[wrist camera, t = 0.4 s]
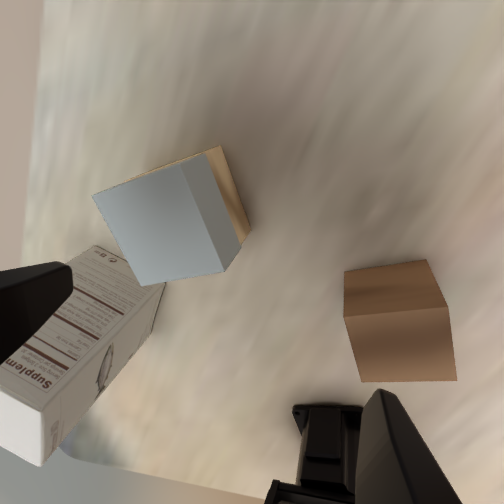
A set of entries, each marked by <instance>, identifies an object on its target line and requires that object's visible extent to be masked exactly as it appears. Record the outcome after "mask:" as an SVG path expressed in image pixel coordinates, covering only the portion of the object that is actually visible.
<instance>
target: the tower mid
mask: <svg viewBox="0 0 504 504" xmlns="http://www.w3.org/2000/svg"><path fill="white" fill-rule="evenodd" d="M92 198H93V200H94V202H95V203H96V205H97V207H98V209H99V211H100V212H101V214H102V216H103V218H104V220H105V222H106V223H107V225H108V227H109V229H110V231H111V232H112V234H113V236H114V238H115V240H116V242H117V243H118V245H119V247H120V249H121V251H122V252H123V254H124V256H125V258H126V260H127V262H128V263H129V265H130V267H131V269H132V271H133V272H134V274H135V276H136V278H137V280H138V282H139V283H140V285H141V286H146V285H152V284H157V283H163V282H169V281H174V280H180V279H186V278H192V277H197V276H203V275H209V274H214V273H220V272H225V271H226V269H227V268H228V266H229V265H230V263H231V262H232V261H233V259H234V258H235V256H236V255H237V253H238V252H239V250H240V249H241V245H240V242H239V240H238V237H237V235H236V232H235V229H234V227H233V224H232V222H231V219H230V216H229V214H228V211H227V209H226V206H225V203H224V201H223V198H222V196H221V193H220V190H219V188H218V185H217V183H216V180H215V177H214V175H213V172H212V170H211V167H210V164H209V162H208V159H207V157H206V154H205V153H204V154H202V155H199V156H196V157H193V158H190V159H188V160H185V161H182V162H179V163H177V164H174V165H171V166H168V167H166V168H163V169H160V170H157V171H154V172H152V173H149V174H146V175H143V176H141V177H138V178H135V179H132V180H130V181H127V182H124V183H122V184H119V185H117V186H114V187H112V188H109V189H107V190H104V191H102V192H99V193H97V194H94V195H92Z"/></svg>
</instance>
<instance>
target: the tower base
mask: <svg viewBox="0 0 504 504" xmlns="http://www.w3.org/2000/svg"><path fill="white" fill-rule="evenodd" d="M204 153H205V154H206V157H207V159H208V162H209V164H210V167H211V170H212V172H213V175H214V177H215V180H216V183H217V185H218V188H219V190H220V193H221V196H222V198H223V201H224V203H225V206H226V209H227V211H228V214H229V216H230V219H231V222H232V224H233V227H234V229H235V232H236V235H237V237H238V240H239V242H240V245H241V244H242V242H243V241H244V240H245V238H246V237H247V235H248V234H249V233H250V231H251V228H250V225H249V222H248V220H247V217H246V214H245V211H244V209H243V206H242V203H241V200H240V198H239V195H238V192H237V189H236V187H235V184H234V181H233V178H232V175H231V173H230V170H229V167H228V164H227V162H226V159H225V156H224V153H223V151H222V148H221V145H220V146H217V147H215V148H212V149H209V150H206V151H204V152H201V153H198V154H195V155H193V156H190V157H187V158H184V159H181V160H179V161H176V162H173V163H170V164H168V165H165V166H162V167H159V168H157V169H154V170H151V171H148V172H146V173H143V174H141V175H138V176H136V177H133V178H131V179H128V180H126V181H124V182H127V181H130V180H132V179H135V178H138V177H141V176H143V175H146V174H149V173H152V172H154V171H157V170H160V169H163V168H166V167H168V166H171V165H174V164H177V163H179V162H182V161H185V160H188V159H190V158H193V157H196V156H199V155H202V154H204Z"/></svg>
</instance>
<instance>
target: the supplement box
mask: <svg viewBox="0 0 504 504" xmlns="http://www.w3.org/2000/svg"><path fill="white" fill-rule="evenodd" d="M65 264H66V265H69V266H70V267H71V268H72V274H73V285H74V289H73V292H72V294H71V296H70V297H69V298H68V299H67V300H66V301H65V302H64V303H63V304H62V305H61V307H60V308H59V309H58V310H57V311H56V312H55V313H54V314H53V315H52V316H51V317H50V318H49V319H48V321H47V322H46V323H45V324H44V325H43V326H42V327H41V328H40V329H39V330H38V331H37V332H36V333H35V334H34V335H33V336H32V337H31V338H30V339H29V340H28V341H27V342H26V343H25V344H24V345H23V346H21V347H20V348H19V349H18V350H17V351H16V352H15V353H14V354H13V355H11V356H10V357H9V358H8V359H7V360H6V361H5V362H4V363H3V364H1V365H0V446H1V447H4V448H5V449H7V450H9V451H10V452H12V453H14V454H16V455H18V456H19V457H21V458H23V459H24V460H26V461H28V462H30V463H32V464H34V465H36V466H38V467H41V466H43V464H44V463H45V462H46V461H47V459H48V458H49V457H50V455H51V454H52V453H53V452H54V451H55V450H56V448H57V447H58V446H59V445H60V444H61V442H62V441H63V440H64V439H65V437H66V436H67V435H68V434H69V433H70V431H71V430H72V429H73V428H74V426H75V425H76V424H77V423H78V422H79V420H80V419H81V418H82V417H83V416H84V414H85V413H86V412H87V411H88V410H89V408H90V407H91V406H92V405H93V403H94V402H95V401H96V400H97V399H98V397H99V396H100V395H101V394H102V393H103V391H104V390H105V389H106V388H107V387H108V385H109V384H110V383H111V382H112V381H113V379H114V378H115V377H116V376H117V375H118V373H119V372H120V371H121V370H122V368H123V367H124V366H125V365H126V364H127V362H128V361H129V360H130V359H131V358H132V356H133V355H134V354H135V353H136V352H137V350H138V349H139V348H140V347H141V346H142V344H143V343H144V342H145V341H146V339H147V338H148V337H149V336H150V334H151V329H152V325H153V321H154V317H155V314H156V310H157V307H158V304H159V301H160V298H161V295H162V292H163V289H164V286H165V282H163V283H157V284H152V285H146V286H141V285H140V283H139V282H138V280H137V278H136V276H135V274H134V272H133V271H132V269H131V267H130V265H129V263H128V262H126V261H124V260H123V259H121V258H119V257H117V256H115V255H113V254H111V253H109V252H107V251H105V250H103V249H101V248H99V247H97V246H94V247H92V248H91V249H89V250H87V251H85V252H84V253H82V254H80V255H79V256H77V257H75V258H74V259H72V260H70V261H69V262H67V263H65Z"/></svg>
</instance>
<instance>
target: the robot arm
mask: <svg viewBox="0 0 504 504" xmlns="http://www.w3.org/2000/svg"><path fill="white" fill-rule="evenodd" d="M73 289H74V285H73V274H72V268H71V267H70V266H69V265H66V264H64V263H61V262H58V261H55V262H49V263H43V264H38V265H32V266H27V267H21V268H16V269H10V270H5V271H0V365H1V364H3V363H4V362H5V361H6V360H7V359H8V358H9V357H10V356H11V355H13V354H14V353H15V352H16V351H17V350H18V349H19V348H20V347H21V346H23V345H24V344H25V343H26V342H27V341H28V340H29V339H30V338H31V337H32V336H33V335H34V334H35V333H36V332H37V331H38V330H39V329H40V328H41V327H42V326H43V325H44V324H45V323H46V322H47V321H48V319H49V318H50V317H51V316H52V315H53V314H54V313H55V312H56V311H57V310H58V309H59V308H60V307H61V305H62V304H63V303H64V302H65V301H66V300H67V299H68V298H69V297H70V296H71V294H72V292H73ZM292 414H293V416H294V418H295V421H296V423H297V426H298V428H299V431H300V433H301V435H302V440H301V447H300V454H299V462H298V469H297V476H296V483H295V485H294V484H289V483H283V482H280V480H275V479H273V481H272V484H271V487H270V489H269V491H268V494H267V497H266V500H265V503H264V504H462V502H461V501H460V499H459V497H458V496H457V494H456V492H455V491H454V489H453V488H452V486H451V484H450V483H449V481H448V479H447V478H446V476H445V474H444V473H443V471H442V470H441V468H440V466H439V465H438V463H437V461H436V460H435V458H434V456H433V455H432V453H431V451H430V450H429V448H428V447H427V445H426V443H425V442H424V440H423V438H422V437H421V435H420V433H419V432H418V430H417V429H416V427H415V425H414V424H413V422H412V420H411V419H410V417H409V415H408V414H407V412H406V411H405V409H404V407H403V406H402V404H401V402H400V401H399V399H398V398H397V396H396V395H395V394H393V393H391V392H388V391H386V390H383V389H377V390H376V391H375V392H374V394H373V395H372V397H371V398H370V400H369V401H368V403H367V404H366V405H365V407H364V409H363V408H361V407H333V406H294V407H293V410H292Z"/></svg>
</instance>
